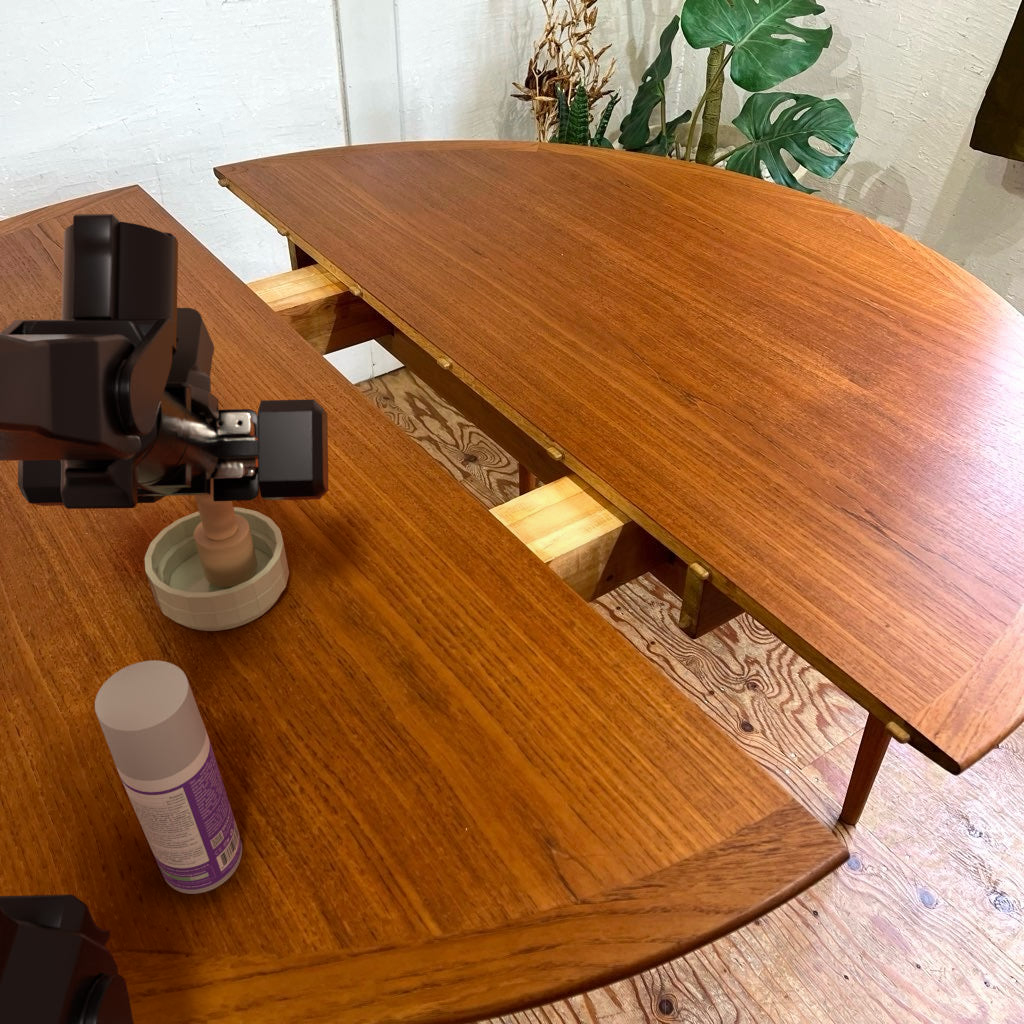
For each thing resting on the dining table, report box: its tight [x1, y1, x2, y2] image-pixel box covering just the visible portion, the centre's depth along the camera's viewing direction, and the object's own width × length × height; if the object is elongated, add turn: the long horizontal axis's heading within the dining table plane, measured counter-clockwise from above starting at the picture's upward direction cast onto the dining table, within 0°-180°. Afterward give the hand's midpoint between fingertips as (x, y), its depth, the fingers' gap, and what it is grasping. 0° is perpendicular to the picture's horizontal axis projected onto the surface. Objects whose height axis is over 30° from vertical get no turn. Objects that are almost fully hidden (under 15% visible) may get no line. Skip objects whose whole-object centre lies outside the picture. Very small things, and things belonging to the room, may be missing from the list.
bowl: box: [144, 506, 290, 632], centre depth 73 cm, size 10×10×4 cm
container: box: [94, 659, 243, 895], centre depth 52 cm, size 5×5×15 cm
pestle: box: [194, 479, 258, 587], centre depth 67 cm, size 4×4×19 cm
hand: (213, 469), depth 69 cm, fingers closed on pestle, 2 cm apart
